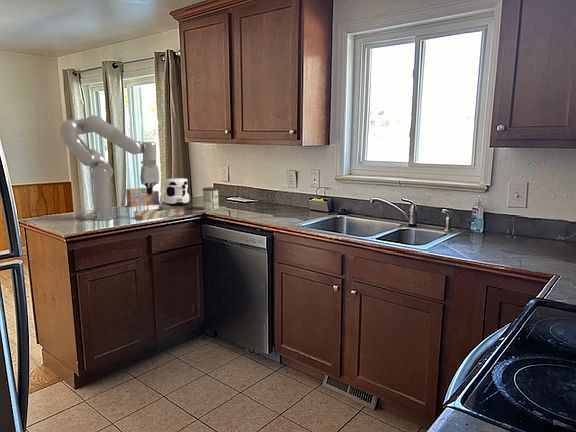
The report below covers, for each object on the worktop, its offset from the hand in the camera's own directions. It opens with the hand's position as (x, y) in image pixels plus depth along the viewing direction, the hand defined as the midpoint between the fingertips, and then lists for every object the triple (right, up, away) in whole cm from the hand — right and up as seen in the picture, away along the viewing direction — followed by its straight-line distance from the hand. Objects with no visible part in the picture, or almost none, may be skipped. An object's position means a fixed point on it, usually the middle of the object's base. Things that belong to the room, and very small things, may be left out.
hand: (149, 194), depth 259 cm
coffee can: (+30, -9, +33) cm, 46 cm away
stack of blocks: (-20, -6, +49) cm, 53 cm away
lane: (+4, -13, +6) cm, 15 cm away
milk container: (+3, -5, +52) cm, 52 cm away
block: (+6, -11, +9) cm, 15 cm away
